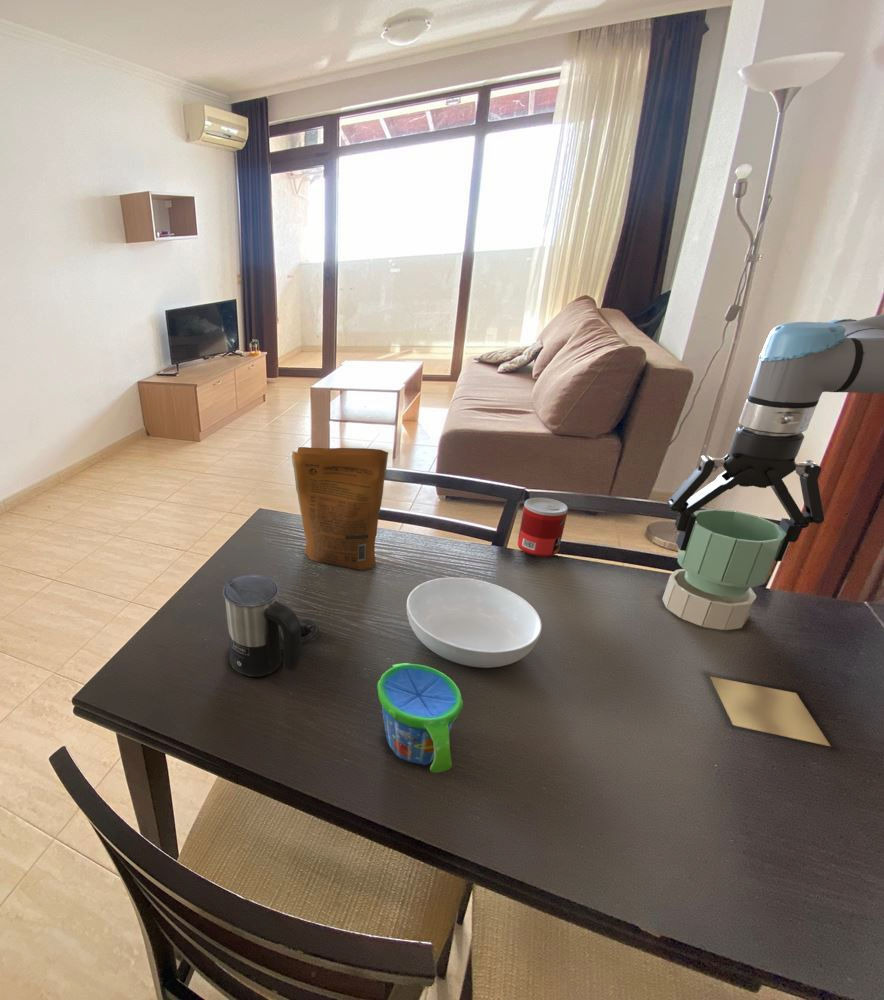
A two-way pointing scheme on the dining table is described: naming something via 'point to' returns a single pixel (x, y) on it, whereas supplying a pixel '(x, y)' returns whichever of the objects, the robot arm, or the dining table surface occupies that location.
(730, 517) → the green bowl
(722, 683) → the placemat
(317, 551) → the pancake mix bag
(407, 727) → the snack cup
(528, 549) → the canned food
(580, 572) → the dining table surface
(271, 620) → the milk frother
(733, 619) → the cream bowl
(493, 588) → the serving bowl
